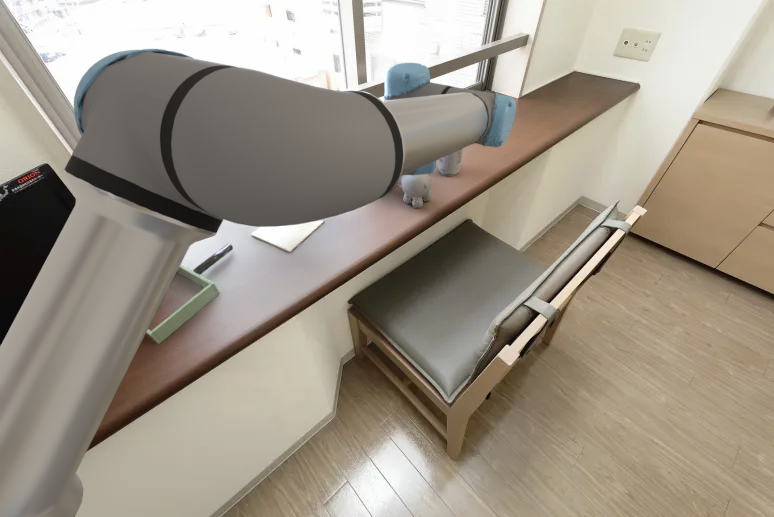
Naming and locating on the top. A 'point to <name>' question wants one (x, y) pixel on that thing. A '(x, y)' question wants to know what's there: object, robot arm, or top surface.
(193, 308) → the pan
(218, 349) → the top surface
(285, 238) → the placemat
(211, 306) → the top surface
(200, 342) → the top surface
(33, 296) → the robot arm
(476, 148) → the top surface
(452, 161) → the energy drink can
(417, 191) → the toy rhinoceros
